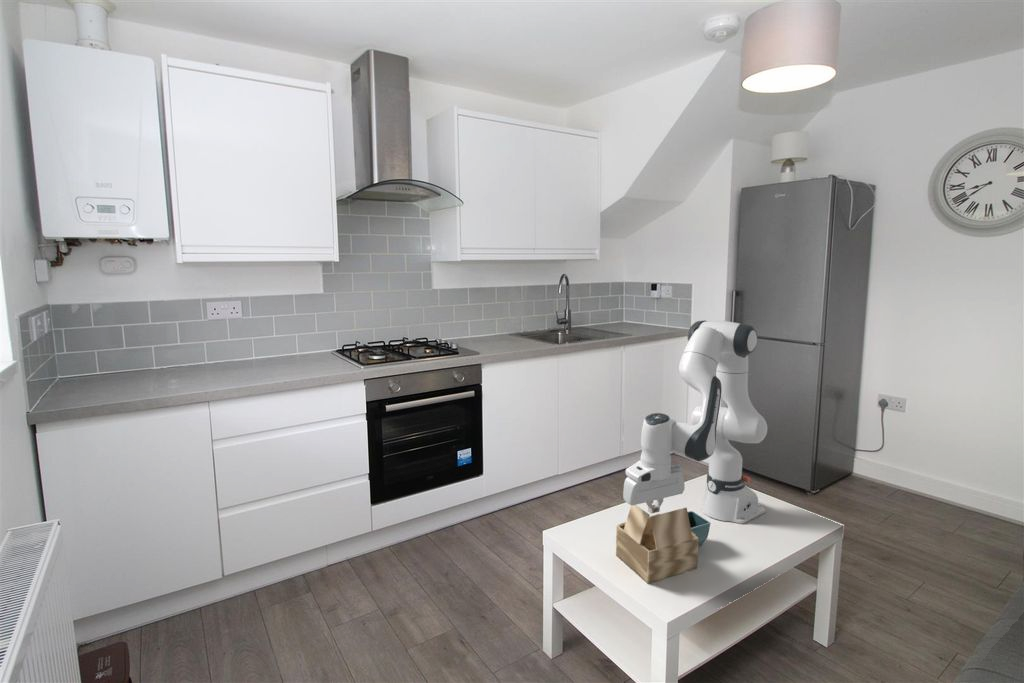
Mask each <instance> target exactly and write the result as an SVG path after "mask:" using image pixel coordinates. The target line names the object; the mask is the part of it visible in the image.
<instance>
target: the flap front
mask: <svg viewBox="0 0 1024 683" xmlns="http://www.w3.org/2000/svg"><path fill="white" fill-rule="evenodd" d="M649 516H651V515H650V513H649V512H646V511H645V510H644V509H642V508H641V507H640V506H638V505H633V506H632V505H630V509H629V512H628V515H627V517H626V521H625V522H626V524H625V527H624V530H623V531H624V532H625V533H626V534H627V535H629V536H630V537H631V538H632V539H634V540H635V541H636V542H637V543H639V544H641V541H642V538H643V534H644V531H645V528H646V525H647V522H648V519H649Z"/></svg>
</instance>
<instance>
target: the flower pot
mask: <svg viewBox="0 0 1024 683" xmlns="http://www.w3.org/2000/svg"><path fill="white" fill-rule="evenodd" d="M687 512H688V517H689V522H690V527H691V532H693V533H694V534H696V536H697V537H698V548H700V547H702V546H703V545H704V544H705V543H706V541H707V539H708V536H709V533H710V528H711V522H710V521H709V520H707V519H706V518H704V517H703V516H701V515H699V514H698V513H696V512H695V511H693V510H690V511H687Z"/></svg>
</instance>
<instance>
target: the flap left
mask: <svg viewBox="0 0 1024 683" xmlns="http://www.w3.org/2000/svg"><path fill="white" fill-rule="evenodd" d="M688 512H689V511H688V508H687V507H682V508H679V509H675V510H672V511H667V512H664V513H658V514H659V515H656V514H654V515H655V516H653V515H650V516H651V517H650V518H651V524H652V529H653V534H654V540H655V545H656V549H660V548H663V547H667V546H670V545H674V544H677V543H681V542H684V541H687V540H691V539H693V537H692V532H691V527H690V522H689V517H688Z"/></svg>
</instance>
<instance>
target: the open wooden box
mask: <svg viewBox="0 0 1024 683" xmlns="http://www.w3.org/2000/svg"><path fill="white" fill-rule="evenodd" d="M659 514H660V513H656V514H653V515H650V516H649V519H648V522H647V525H646V528H645V531H644V534H643V538H642V541H641V544H639V543H637V542H636V541H635V540H634V539H632V538H631V537H630V536H629V535H627V534H626V533H625V532H624V531H623V530H624V527H625V524H626V521H624V522H622V523H618V524H617V525H616V533H615V534H616V537H615V538H616V539H615V540H616V541H615V543H616V544H615V556H616V557H617V558H618V559H619V560H620V561H621V562H623V563H624V564H625V565H626V566H627V567H628V568H629V569H630V570H632V571H633V572H634V573H635V574H636V575H637V576H639V577H640V578H641V579H642V581H644V582H645V583H646V584H647V585H649V584H653V583H656V582H658V581H659V582H660V581H662V580H665V579H668V578H672V577H675V576H678V575H680V574H684V573H687V572H690V571H693V570H696V569H697V568H698V557H699V556H698V554H699V547H698V537H697V536H696V534H694V533H693V532H692V537H693V539H691V540H687V541H684V542H681V543H677V544H674V545H670V546H667V547H663V548H660V549H656V545H655V540H654V534H653V529H652V524H651V518H650V517H651V516H655V515H659Z"/></svg>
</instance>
